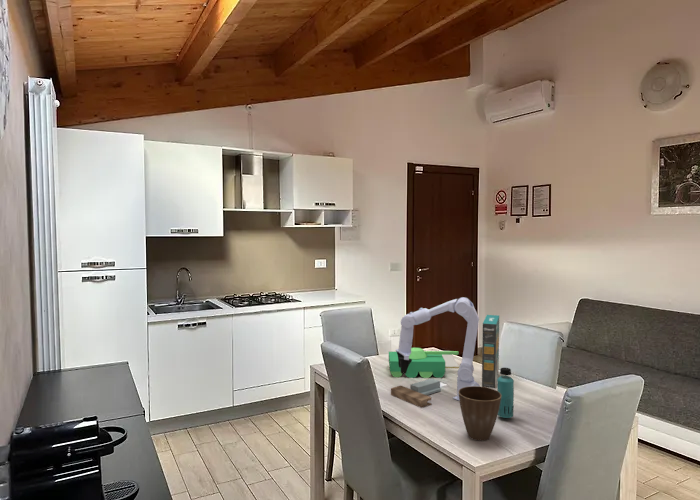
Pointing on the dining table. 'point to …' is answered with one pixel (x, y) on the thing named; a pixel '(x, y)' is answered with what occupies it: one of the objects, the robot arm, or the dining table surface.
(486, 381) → the cake mix box
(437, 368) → the toy tank
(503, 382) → the beverage bottle
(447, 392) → the dining table surface
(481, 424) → the plant pot
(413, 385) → the tongue plank
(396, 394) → the grooved board
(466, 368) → the robot arm
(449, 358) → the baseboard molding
